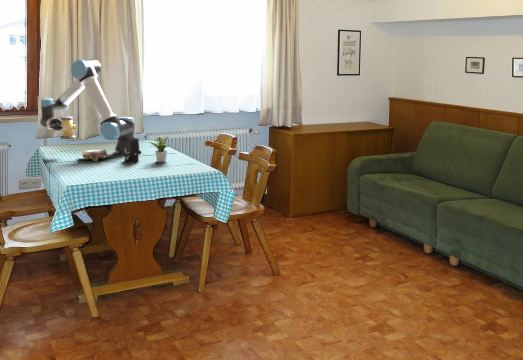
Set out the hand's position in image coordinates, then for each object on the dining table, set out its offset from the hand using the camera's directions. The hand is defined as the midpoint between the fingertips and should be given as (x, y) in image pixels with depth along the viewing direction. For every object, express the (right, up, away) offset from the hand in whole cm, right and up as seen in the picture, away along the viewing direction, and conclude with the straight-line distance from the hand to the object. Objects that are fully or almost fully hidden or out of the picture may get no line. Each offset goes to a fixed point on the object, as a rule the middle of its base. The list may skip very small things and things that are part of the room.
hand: (71, 127), depth 395 cm
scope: (+40, -21, -7) cm, 46 cm away
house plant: (+57, -21, -5) cm, 61 cm away
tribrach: (+15, -19, 0) cm, 24 cm away
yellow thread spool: (-3, -6, +5) cm, 9 cm away
